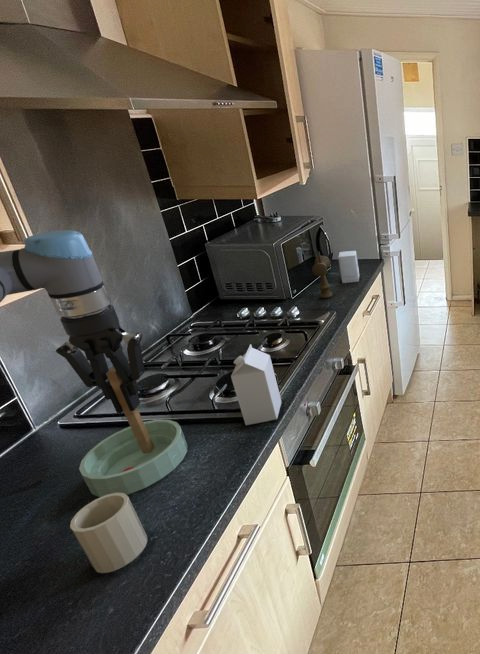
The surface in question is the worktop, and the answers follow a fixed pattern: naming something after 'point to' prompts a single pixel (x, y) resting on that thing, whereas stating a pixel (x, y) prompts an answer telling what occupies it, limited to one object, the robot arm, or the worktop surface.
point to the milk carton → (256, 387)
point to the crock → (109, 532)
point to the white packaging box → (348, 266)
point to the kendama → (322, 274)
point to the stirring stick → (131, 414)
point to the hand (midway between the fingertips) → (129, 407)
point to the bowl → (133, 459)
